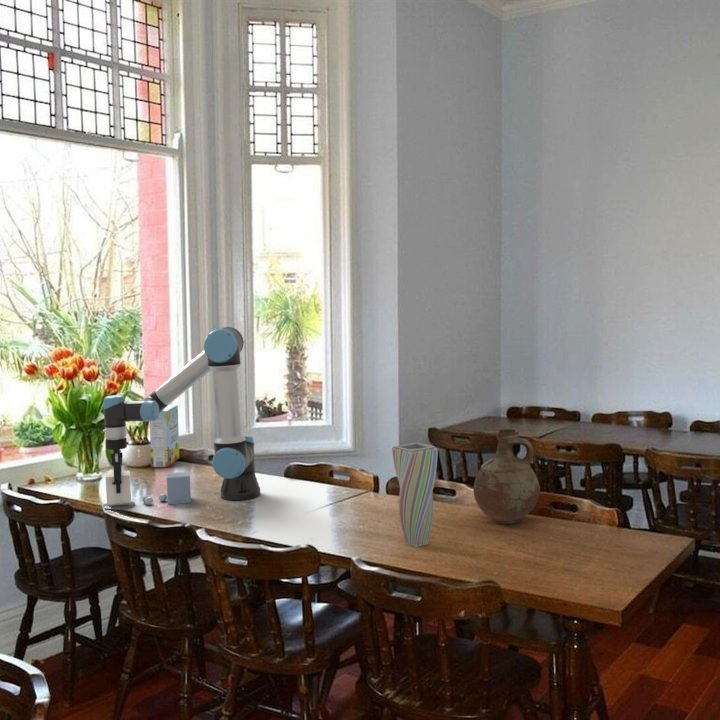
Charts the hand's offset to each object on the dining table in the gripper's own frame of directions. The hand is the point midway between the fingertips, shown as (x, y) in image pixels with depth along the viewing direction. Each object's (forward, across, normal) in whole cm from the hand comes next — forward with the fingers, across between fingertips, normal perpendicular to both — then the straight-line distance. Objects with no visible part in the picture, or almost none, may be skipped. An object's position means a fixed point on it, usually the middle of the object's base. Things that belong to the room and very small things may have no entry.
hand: (119, 498), depth 317 cm
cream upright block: (+1, 0, 0) cm, 1 cm away
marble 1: (+3, -2, +9) cm, 9 cm away
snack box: (+3, -74, +19) cm, 77 cm away
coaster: (+3, 0, 0) cm, 3 cm away
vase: (+3, +81, +88) cm, 120 cm away
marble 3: (0, -2, +15) cm, 15 cm away
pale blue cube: (+3, 0, +22) cm, 22 cm away
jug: (+3, +67, +124) cm, 141 cm away
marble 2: (+3, +2, +10) cm, 11 cm away
